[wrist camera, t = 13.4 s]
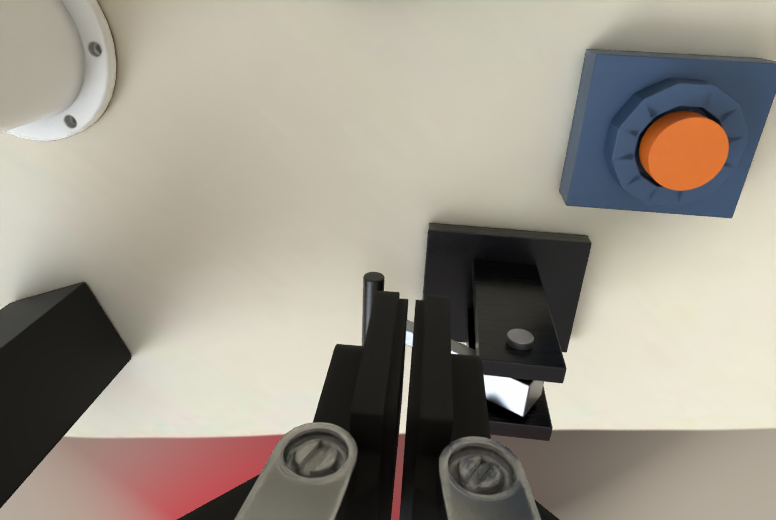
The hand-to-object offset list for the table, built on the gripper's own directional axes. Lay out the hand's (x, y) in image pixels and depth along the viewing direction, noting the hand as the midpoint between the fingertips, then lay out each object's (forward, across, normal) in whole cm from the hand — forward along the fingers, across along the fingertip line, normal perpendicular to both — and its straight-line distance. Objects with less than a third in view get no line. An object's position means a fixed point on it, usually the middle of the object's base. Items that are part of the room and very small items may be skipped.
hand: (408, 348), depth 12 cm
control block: (+25, -14, 0) cm, 29 cm away
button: (+21, -14, 0) cm, 25 cm away
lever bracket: (+26, -6, +12) cm, 29 cm away
